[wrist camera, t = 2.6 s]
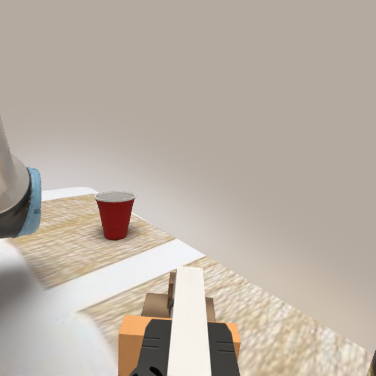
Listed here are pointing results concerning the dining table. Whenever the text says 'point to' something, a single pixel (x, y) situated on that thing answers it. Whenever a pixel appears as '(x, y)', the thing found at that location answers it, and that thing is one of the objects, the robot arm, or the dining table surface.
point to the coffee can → (372, 367)
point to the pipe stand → (170, 303)
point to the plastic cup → (115, 212)
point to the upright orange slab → (133, 338)
